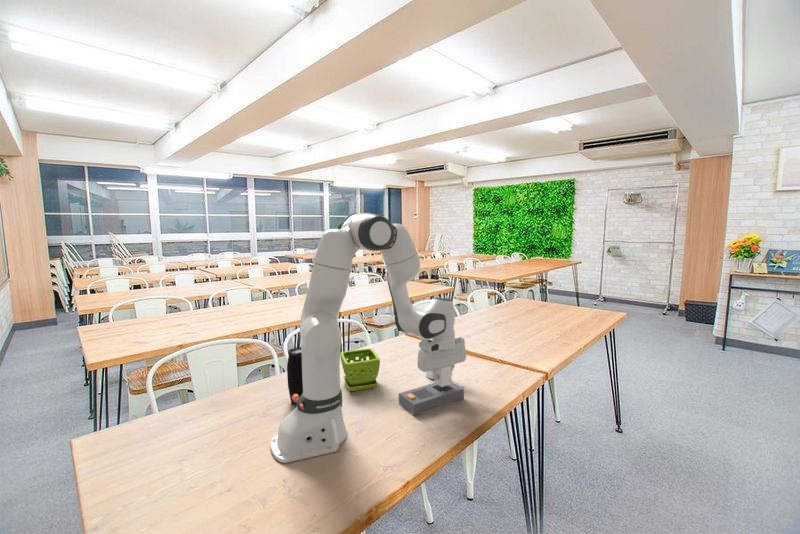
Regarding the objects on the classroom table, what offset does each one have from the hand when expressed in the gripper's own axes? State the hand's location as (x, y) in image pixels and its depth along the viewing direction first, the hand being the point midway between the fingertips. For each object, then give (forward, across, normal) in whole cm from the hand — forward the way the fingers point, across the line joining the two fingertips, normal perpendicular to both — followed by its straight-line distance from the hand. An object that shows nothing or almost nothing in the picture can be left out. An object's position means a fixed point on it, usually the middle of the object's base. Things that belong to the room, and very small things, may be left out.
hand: (442, 377), depth 134 cm
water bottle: (+8, -10, -18) cm, 22 cm away
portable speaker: (+8, +45, -27) cm, 53 cm away
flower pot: (+8, +21, -27) cm, 35 cm away
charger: (+2, 0, 0) cm, 2 cm away
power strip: (+8, +5, 0) cm, 9 cm away
